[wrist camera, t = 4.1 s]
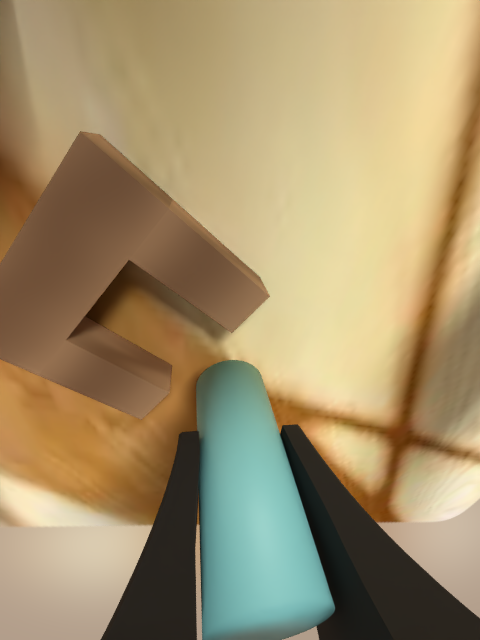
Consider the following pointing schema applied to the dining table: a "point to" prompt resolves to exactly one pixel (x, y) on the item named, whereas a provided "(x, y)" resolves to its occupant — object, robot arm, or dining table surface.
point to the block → (108, 276)
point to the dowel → (251, 517)
